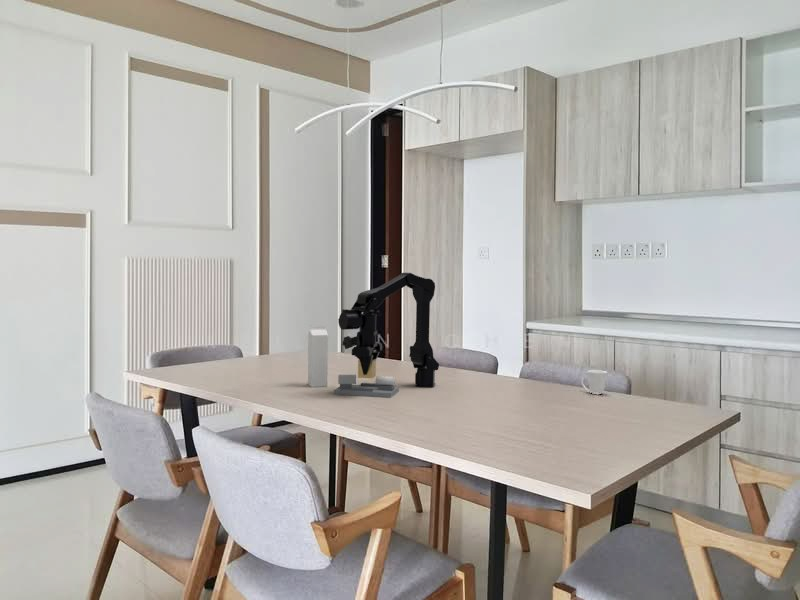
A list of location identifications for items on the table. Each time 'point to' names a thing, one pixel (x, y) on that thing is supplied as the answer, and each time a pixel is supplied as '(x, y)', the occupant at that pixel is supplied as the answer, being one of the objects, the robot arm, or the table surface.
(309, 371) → the milk
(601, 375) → the cup
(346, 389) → the grey stepped stand
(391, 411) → the table surface
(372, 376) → the gold square block
